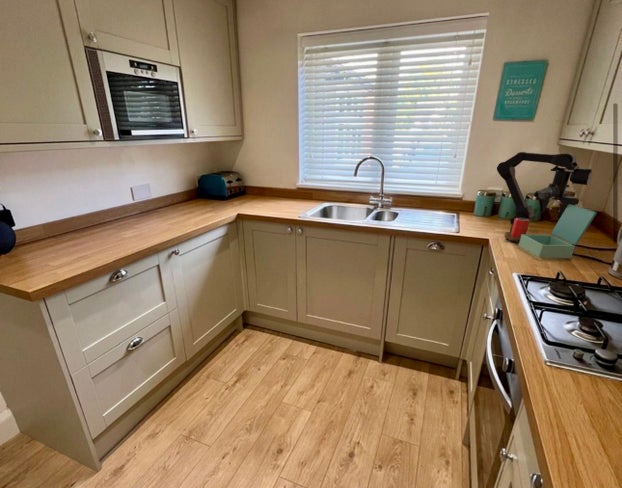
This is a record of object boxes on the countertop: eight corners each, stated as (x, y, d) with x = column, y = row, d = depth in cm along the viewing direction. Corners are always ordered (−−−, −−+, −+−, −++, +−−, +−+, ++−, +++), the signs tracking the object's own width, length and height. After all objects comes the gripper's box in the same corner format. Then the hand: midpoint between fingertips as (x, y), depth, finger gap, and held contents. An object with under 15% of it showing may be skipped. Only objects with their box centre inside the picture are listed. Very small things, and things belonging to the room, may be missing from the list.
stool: (499, 239, 162) (501, 232, 161) (517, 239, 163) (519, 232, 161) (509, 245, 154) (511, 238, 153) (528, 245, 154) (530, 238, 153)
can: (508, 233, 160) (512, 217, 156) (520, 233, 160) (524, 217, 157) (515, 237, 154) (520, 220, 151) (528, 237, 154) (532, 220, 151)
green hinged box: (538, 259, 139) (542, 245, 136) (518, 247, 152) (521, 234, 150) (570, 260, 139) (575, 246, 136) (547, 247, 152) (551, 234, 150)
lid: (595, 212, 131) (597, 212, 131) (568, 203, 144) (570, 204, 145) (574, 244, 136) (576, 245, 136) (550, 233, 150) (552, 234, 150)
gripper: (528, 179, 157) (520, 211, 163) (563, 185, 140) (552, 221, 146) (548, 178, 159) (539, 210, 165) (585, 185, 142) (573, 220, 148)
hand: (550, 215), depth 156 cm, fingers open, 9 cm apart
